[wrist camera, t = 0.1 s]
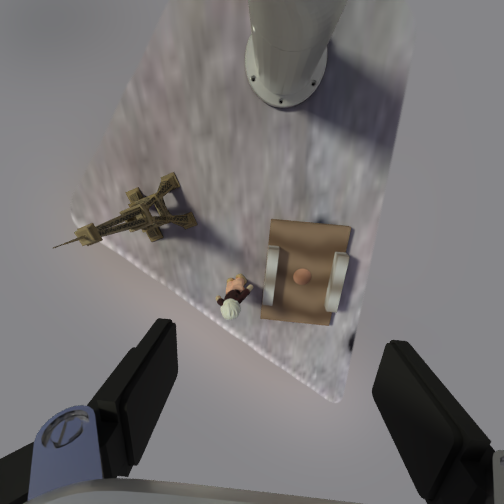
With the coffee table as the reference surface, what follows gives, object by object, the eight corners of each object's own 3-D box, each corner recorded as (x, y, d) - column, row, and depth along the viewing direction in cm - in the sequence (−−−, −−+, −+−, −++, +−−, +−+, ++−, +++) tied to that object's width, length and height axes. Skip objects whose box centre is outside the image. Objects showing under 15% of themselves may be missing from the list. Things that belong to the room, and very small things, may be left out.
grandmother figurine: (229, 296, 51) (218, 334, 39) (219, 283, 51) (204, 317, 39) (258, 278, 50) (255, 312, 38) (247, 264, 49) (241, 295, 37)
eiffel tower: (152, 241, 48) (43, 308, 25) (126, 192, 45) (-26, 215, 22) (197, 224, 47) (127, 279, 23) (174, 172, 44) (65, 173, 20)
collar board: (271, 218, 45) (271, 222, 42) (349, 226, 45) (355, 230, 41) (260, 315, 53) (260, 325, 49) (327, 322, 52) (331, 332, 49)
